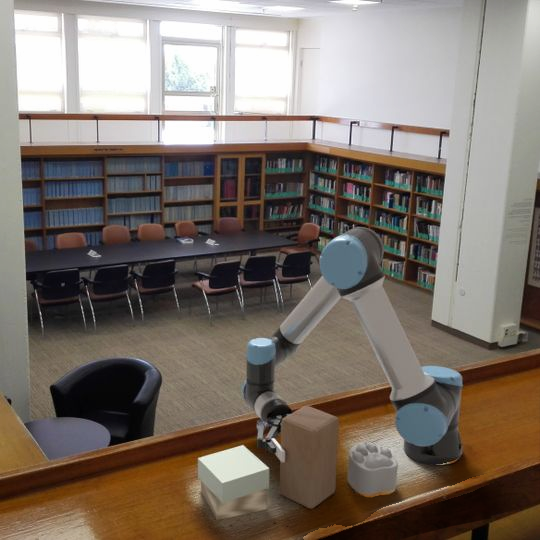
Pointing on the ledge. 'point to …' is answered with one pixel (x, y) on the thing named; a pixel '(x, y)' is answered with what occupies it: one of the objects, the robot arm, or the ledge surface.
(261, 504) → the tower bottom
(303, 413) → the block
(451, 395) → the robot arm
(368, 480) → the lumpy-topped squat cylinder
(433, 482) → the ledge surface
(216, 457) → the tower top
